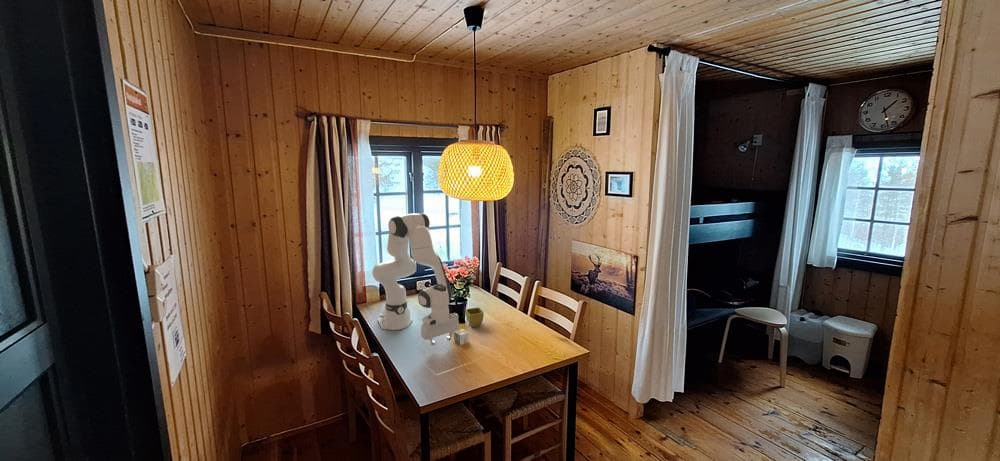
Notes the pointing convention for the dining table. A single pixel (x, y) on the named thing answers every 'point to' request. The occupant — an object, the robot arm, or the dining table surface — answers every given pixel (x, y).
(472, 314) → the flower pot
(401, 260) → the robot arm
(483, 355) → the dining table surface
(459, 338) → the letter cube
